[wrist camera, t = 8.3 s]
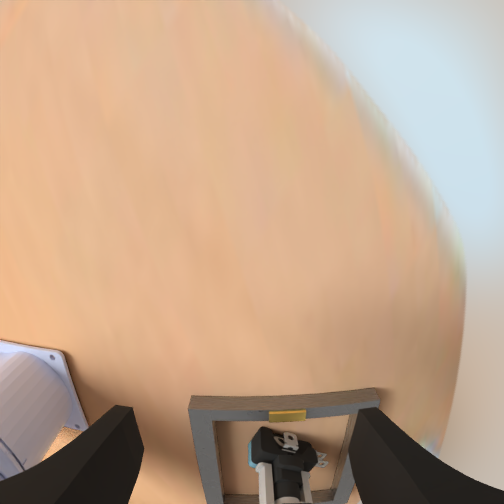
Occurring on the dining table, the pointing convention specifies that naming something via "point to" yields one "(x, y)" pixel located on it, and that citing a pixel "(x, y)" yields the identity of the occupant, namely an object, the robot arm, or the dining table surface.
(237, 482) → the dining table surface
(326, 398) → the frame
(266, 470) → the push button
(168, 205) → the dining table surface
